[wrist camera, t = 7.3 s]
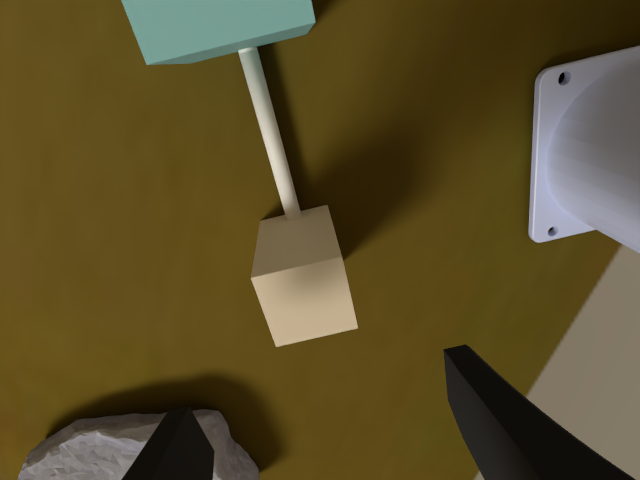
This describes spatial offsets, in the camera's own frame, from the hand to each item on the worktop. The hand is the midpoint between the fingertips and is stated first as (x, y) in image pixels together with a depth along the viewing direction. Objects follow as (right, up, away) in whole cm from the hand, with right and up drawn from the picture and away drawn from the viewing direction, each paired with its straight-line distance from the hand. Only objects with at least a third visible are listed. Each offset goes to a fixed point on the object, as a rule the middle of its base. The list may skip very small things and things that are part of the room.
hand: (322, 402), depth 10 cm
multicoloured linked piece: (-2, +10, +5) cm, 11 cm away
